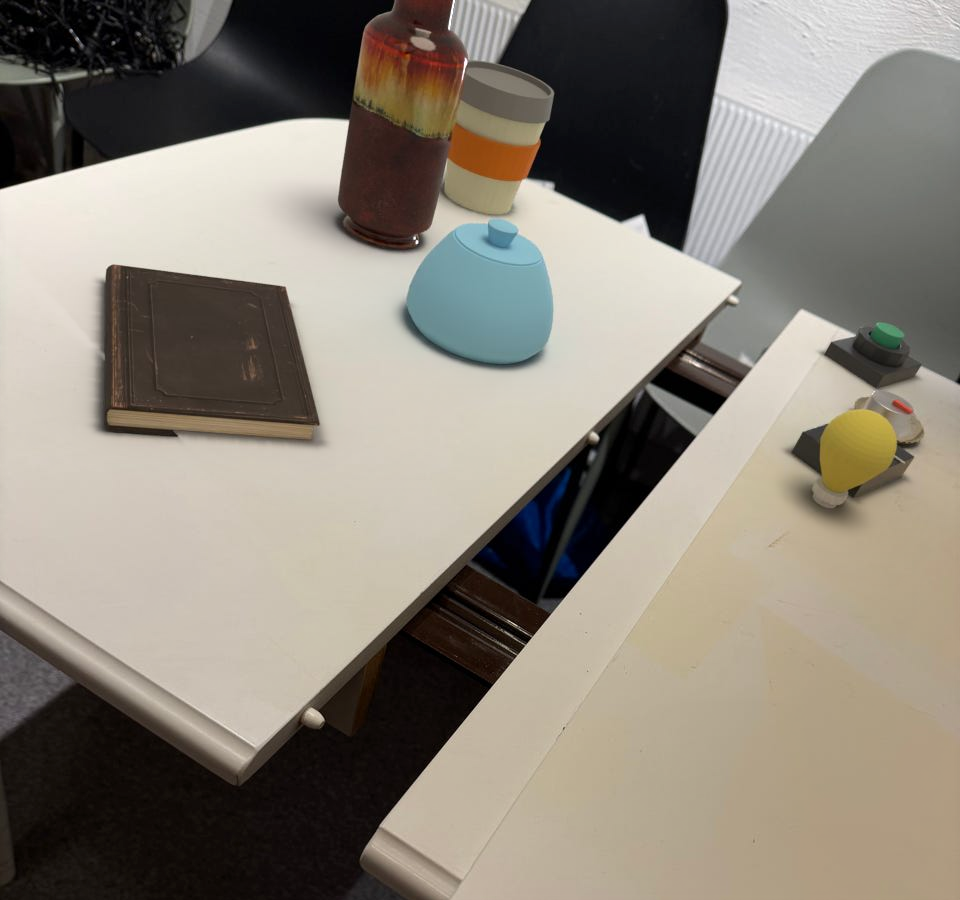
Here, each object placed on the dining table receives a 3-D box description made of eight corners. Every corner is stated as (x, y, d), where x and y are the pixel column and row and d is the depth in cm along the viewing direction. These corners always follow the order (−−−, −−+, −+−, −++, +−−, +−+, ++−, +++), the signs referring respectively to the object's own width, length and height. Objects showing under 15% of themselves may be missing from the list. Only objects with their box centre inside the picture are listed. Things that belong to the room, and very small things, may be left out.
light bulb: (863, 532, 92) (922, 443, 85) (799, 517, 90) (853, 426, 84) (843, 491, 97) (897, 404, 90) (782, 477, 95) (832, 388, 89)
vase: (340, 205, 116) (381, -53, 98) (430, 230, 117) (486, -19, 100) (326, 240, 108) (368, -34, 90) (423, 266, 109) (482, 2, 92)
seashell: (839, 441, 109) (913, 459, 106) (846, 417, 106) (921, 435, 103) (860, 405, 114) (930, 422, 111) (866, 382, 111) (938, 399, 108)
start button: (878, 333, 121) (885, 320, 120) (902, 348, 120) (909, 335, 118) (864, 337, 119) (871, 323, 118) (887, 352, 117) (895, 338, 116)
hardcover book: (283, 308, 94) (285, 286, 92) (315, 446, 79) (319, 422, 77) (105, 287, 88) (105, 262, 87) (104, 431, 73) (104, 404, 71)
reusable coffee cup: (424, 174, 131) (449, 51, 121) (511, 192, 134) (543, 74, 124) (437, 212, 122) (466, 83, 112) (531, 231, 126) (567, 107, 116)
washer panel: (842, 434, 106) (857, 409, 104) (907, 479, 102) (924, 454, 100) (786, 454, 99) (801, 428, 97) (853, 502, 95) (870, 476, 93)
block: (862, 347, 126) (878, 319, 124) (912, 379, 123) (930, 351, 120) (822, 357, 120) (838, 328, 118) (874, 391, 117) (891, 361, 114)
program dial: (841, 431, 99) (865, 390, 96) (863, 424, 102) (888, 384, 99) (875, 455, 97) (901, 414, 94) (897, 448, 100) (923, 408, 97)
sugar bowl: (571, 363, 101) (609, 256, 94) (461, 381, 92) (493, 265, 85) (484, 293, 108) (513, 188, 100) (374, 304, 99) (396, 190, 92)
